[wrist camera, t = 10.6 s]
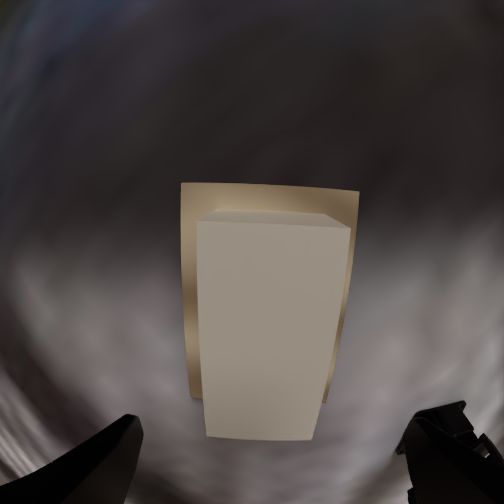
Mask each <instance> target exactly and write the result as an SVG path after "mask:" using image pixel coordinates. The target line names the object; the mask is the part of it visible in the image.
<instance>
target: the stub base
mask: <svg viewBox="0 0 504 504" xmlns="http://www.w3.org/2000/svg"><path fill="white" fill-rule="evenodd" d="M358 203H359V192H358V191H348V190H338V189H326V188H313V187H299V186H283V185H263V184H236V183H181V267H182V294H183V314H184V330H185V344H186V356H187V367H188V378H189V388H190V397H192V398H200V399H203V392H202V379H201V363H200V346H199V324H198V295H197V220H199V219H201V218H202V217H204V216H206V215H207V214H209V213H211V212H212V211H214V210H216V209H233V210H259V211H279V212H298V213H314V214H325V215H327V216H329V217H331V218H333V219H335V220H337V221H338V222H340V223H342V224H344V225H346V226H347V227H349V228H351V232H350V242H349V251H348V260H347V268H346V276H345V283H344V290H343V297H342V303H341V310H340V316H339V322H338V327H337V333H336V338H335V344H334V349H333V354H332V359H331V364H330V368H329V373H328V377H327V382H326V386H325V391H324V395H323V399H322V403H326V400H327V396H328V392H329V388H330V384H331V380H332V376H333V371H334V367H335V362H336V357H337V353H338V348H339V343H340V338H341V333H342V327H343V322H344V316H345V310H346V304H347V298H348V292H349V285H350V278H351V270H352V263H353V255H354V246H355V237H356V226H357V215H358Z"/></svg>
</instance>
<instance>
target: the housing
mask: <svg viewBox="0 0 504 504" xmlns="http://www.w3.org/2000/svg"><path fill="white" fill-rule="evenodd" d="M350 232H351V228H349V227H347V226H346V225H344V224H342V223H340V222H338V221H337V220H335V219H333V218H331V217H329V216H327V215H325V214H314V213H298V212H279V211H259V210H233V209H216V210H214V211H212V212H211V213H209V214H207V215H206V216H204V217H202V218H201V219H199V220H197V295H198V324H199V346H200V363H201V379H202V392H203V405H204V416H205V427H206V436H210V437H219V438H231V439H245V440H274V441H292V440H312V437H313V433H314V430H315V426H316V422H317V419H318V415H319V411H320V407H321V403H322V399H323V395H324V391H325V386H326V382H327V377H328V373H329V368H330V364H331V359H332V354H333V349H334V344H335V338H336V333H337V327H338V322H339V316H340V310H341V303H342V297H343V290H344V283H345V276H346V268H347V260H348V251H349V242H350Z"/></svg>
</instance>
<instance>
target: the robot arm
mask: <svg viewBox="0 0 504 504" xmlns="http://www.w3.org/2000/svg"><path fill="white" fill-rule="evenodd" d="M465 406H466V402H465V401H464V400H463V401H459V402H456V403H452V404H448V405H444V406H440V407H436V408H431V409H427V410H422V411H419V412H418V413H417V414H416V415H415V417H414V419H412V420H410V422H409V424H408V426H407V428H406V430H405V432H404V434H403V440H402V441H401V443H400V445H399V447H398V448H397V450H396V452H397V455H401V454H406V460H407V465H408V471H409V475H410V479H411V482H412V485H413V487H412V488H411V489H409V490H407V492H408V503H409V504H504V459H503V457H502V456H501V454H500V453H499V451H498V450H497V448H496V447H495V445H494V444H493V443H492V441H491V440H490V439H489V438H488V437H487V436H486V435H485V434H484V433H483V434H482V435H481V436H480V438H479V439H478V438H477V436H476V435H475V433H474V432H473V430H474V428H473V426H472V425H471V423H470V422H469V420H468V419H467V417H466V416H465V415H464V413H463V410H464V408H465ZM143 436H144V433H143V429H142V426H141V422H140V419H139V417H138V416H135V415H131V414H125V415H124V416H122V417H121V418H119V419H118V420H116V421H115V422H113V423H112V424H110V425H109V426H107V427H106V428H104V429H103V430H101V431H100V432H98V433H97V434H95V435H94V436H92V437H91V438H89V439H88V440H86V441H85V442H83V443H81V444H80V445H78V446H77V447H75V448H74V449H72V450H70V451H69V452H67V453H66V454H64V455H62V456H61V457H59V458H57V459H56V460H54V461H53V462H52V463H49V464H47V465H46V466H44V467H42V468H40V469H38V470H37V471H35V472H33V473H31V474H28V475H26V476H24V477H22V478H19V479H17V480H14V481H12V482H9V483H6V484H4V485H1V486H0V504H124V501H125V498H126V496H127V493H128V490H129V487H130V485H131V482H132V479H133V477H134V474H135V470H136V466H137V462H138V457H139V453H140V449H141V445H142V441H143ZM488 453H489V454H490V455H488V456H487V457H486V458H485V456H486V455H487V454H488Z"/></svg>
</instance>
